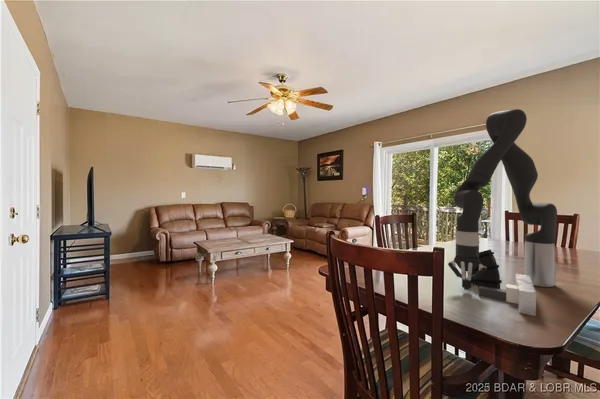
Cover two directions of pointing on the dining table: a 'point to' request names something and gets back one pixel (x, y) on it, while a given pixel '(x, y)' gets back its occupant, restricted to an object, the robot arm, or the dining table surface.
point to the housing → (526, 295)
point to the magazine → (487, 271)
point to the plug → (500, 293)
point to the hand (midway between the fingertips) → (466, 289)
